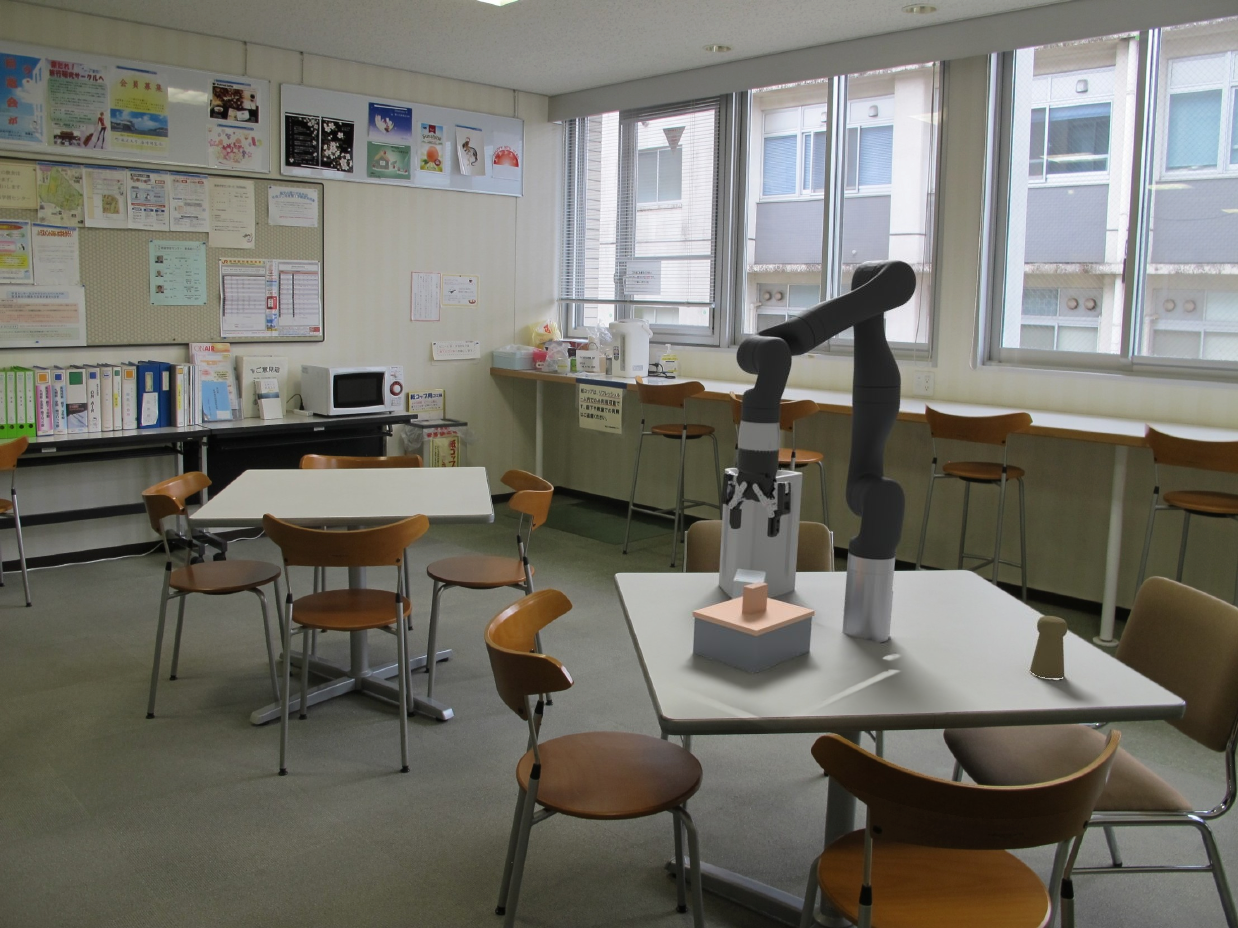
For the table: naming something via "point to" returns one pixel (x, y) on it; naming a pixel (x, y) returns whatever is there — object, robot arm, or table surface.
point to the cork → (1049, 648)
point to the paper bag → (762, 541)
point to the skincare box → (746, 580)
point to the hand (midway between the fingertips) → (753, 532)
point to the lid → (754, 612)
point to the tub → (751, 644)
